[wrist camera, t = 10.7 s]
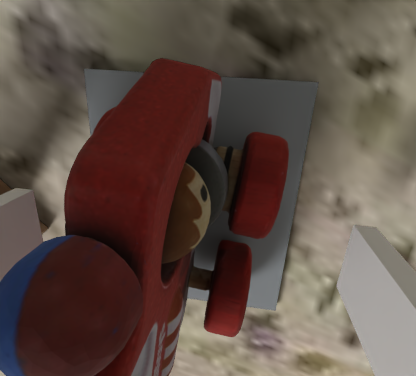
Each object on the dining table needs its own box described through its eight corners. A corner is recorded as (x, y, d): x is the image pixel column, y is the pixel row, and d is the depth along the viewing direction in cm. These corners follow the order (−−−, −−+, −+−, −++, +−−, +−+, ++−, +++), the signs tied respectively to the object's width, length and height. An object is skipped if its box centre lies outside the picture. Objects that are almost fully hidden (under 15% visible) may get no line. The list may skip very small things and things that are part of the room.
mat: (88, 69, 12) (83, 68, 12) (316, 82, 11) (318, 82, 11) (109, 282, 17) (105, 286, 16) (274, 305, 16) (275, 310, 15)
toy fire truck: (296, 87, 11) (590, 119, 2) (231, 311, 16) (208, 663, 6) (132, 55, 12) (-419, -75, 2) (116, 283, 16) (-72, 575, 7)
